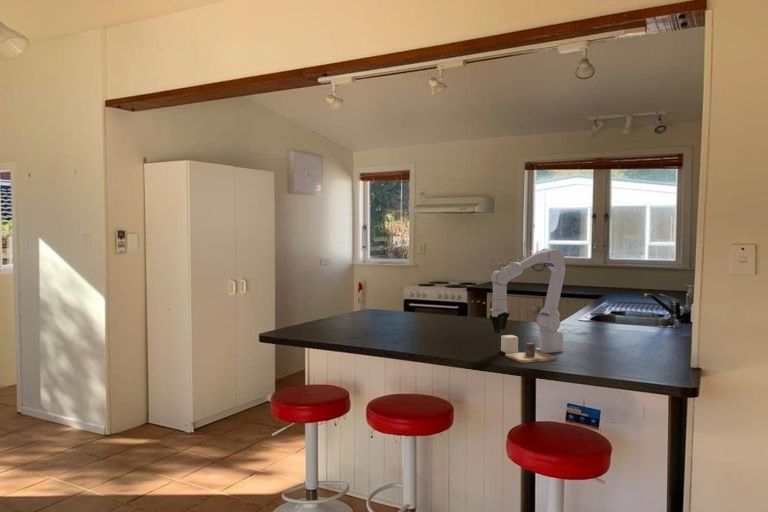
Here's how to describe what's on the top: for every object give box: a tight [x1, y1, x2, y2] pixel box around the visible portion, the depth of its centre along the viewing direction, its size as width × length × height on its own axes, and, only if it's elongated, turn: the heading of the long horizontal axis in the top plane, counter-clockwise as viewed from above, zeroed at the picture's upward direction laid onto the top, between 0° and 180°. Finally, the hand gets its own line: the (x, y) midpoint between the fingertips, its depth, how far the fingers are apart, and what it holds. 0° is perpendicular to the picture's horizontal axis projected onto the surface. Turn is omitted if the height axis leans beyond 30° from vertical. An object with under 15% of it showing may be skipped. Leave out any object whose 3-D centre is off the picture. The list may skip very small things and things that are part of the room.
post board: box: [504, 342, 557, 364], centre depth 222 cm, size 16×12×6 cm
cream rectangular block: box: [500, 334, 519, 354], centre depth 233 cm, size 5×5×7 cm
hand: (499, 331), depth 230 cm, fingers open, 7 cm apart
